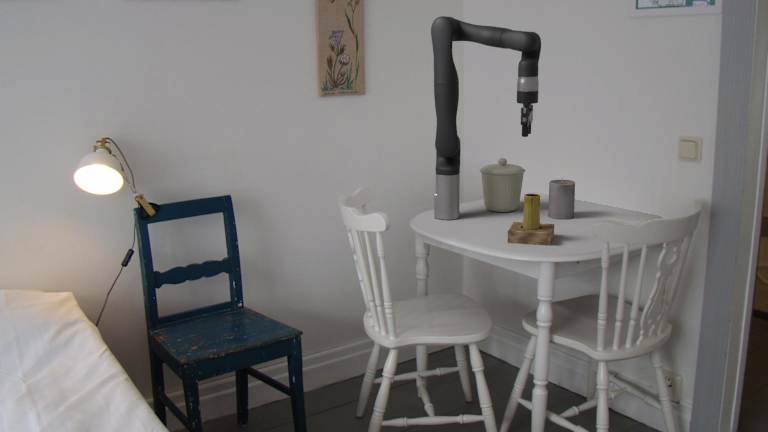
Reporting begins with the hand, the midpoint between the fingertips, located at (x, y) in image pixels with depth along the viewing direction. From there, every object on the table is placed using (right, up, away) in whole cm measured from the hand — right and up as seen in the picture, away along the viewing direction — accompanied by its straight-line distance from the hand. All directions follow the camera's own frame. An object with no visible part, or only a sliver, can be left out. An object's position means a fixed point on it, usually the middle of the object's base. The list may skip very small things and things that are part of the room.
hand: (526, 135), depth 265 cm
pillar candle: (+17, -30, +20) cm, 39 cm away
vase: (-1, -36, -13) cm, 38 cm away
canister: (-4, -27, +33) cm, 43 cm away
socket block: (-1, -37, -13) cm, 39 cm away
